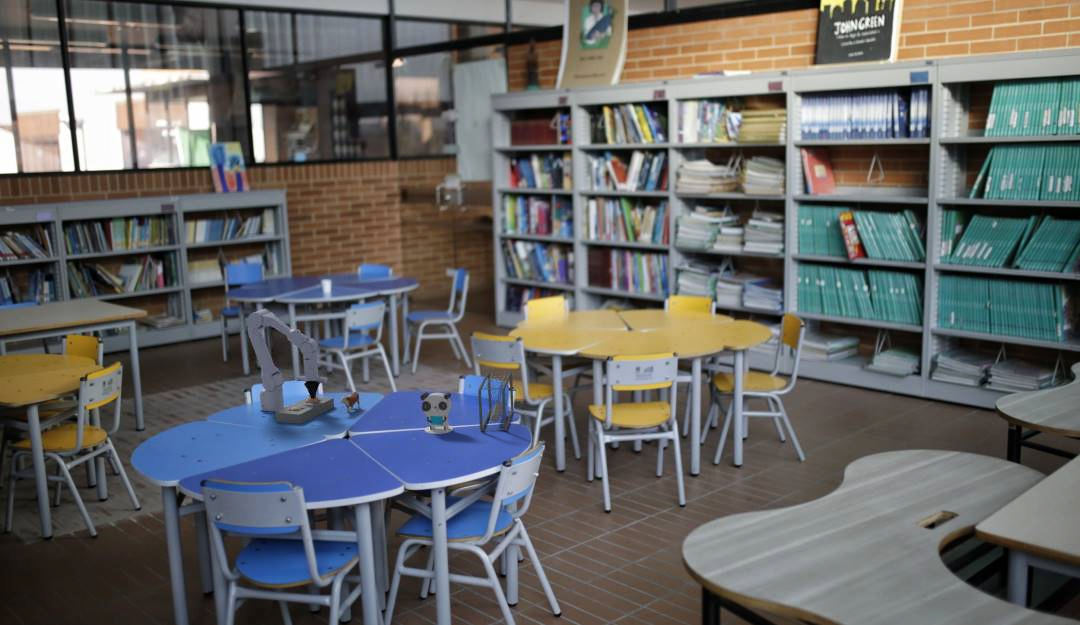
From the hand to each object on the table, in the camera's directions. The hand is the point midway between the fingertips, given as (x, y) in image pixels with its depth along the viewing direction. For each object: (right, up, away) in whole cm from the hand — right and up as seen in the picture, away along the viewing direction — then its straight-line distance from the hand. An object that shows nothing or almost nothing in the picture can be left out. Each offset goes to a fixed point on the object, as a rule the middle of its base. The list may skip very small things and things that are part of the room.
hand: (313, 397), depth 417 cm
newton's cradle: (+81, -8, -25) cm, 85 cm away
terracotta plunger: (0, -3, +1) cm, 4 cm away
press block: (-2, -7, -5) cm, 9 cm away
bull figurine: (+17, -6, -2) cm, 18 cm away
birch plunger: (-4, -7, -11) cm, 14 cm away
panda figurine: (+58, -10, -34) cm, 68 cm away
